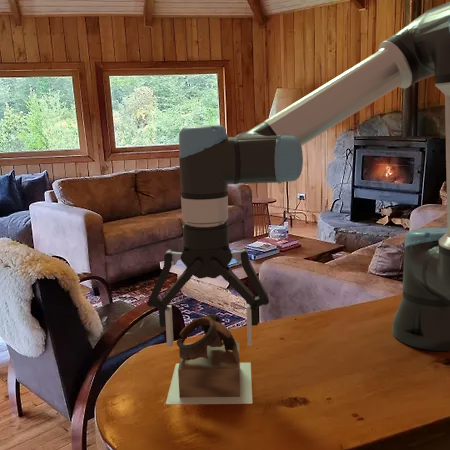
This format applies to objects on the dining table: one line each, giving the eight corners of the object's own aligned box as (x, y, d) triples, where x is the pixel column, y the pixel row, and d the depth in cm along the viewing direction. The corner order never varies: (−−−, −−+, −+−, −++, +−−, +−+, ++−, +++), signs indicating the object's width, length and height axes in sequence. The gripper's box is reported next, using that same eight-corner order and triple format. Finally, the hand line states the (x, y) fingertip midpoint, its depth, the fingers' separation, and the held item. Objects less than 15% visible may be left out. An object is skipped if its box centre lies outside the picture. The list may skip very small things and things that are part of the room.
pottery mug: (243, 374, 84) (218, 338, 81) (193, 394, 87) (166, 359, 83) (243, 327, 95) (221, 293, 92) (199, 345, 97) (175, 314, 94)
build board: (250, 369, 98) (250, 362, 98) (252, 411, 84) (252, 403, 84) (176, 370, 98) (176, 363, 98) (166, 412, 85) (165, 404, 84)
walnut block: (240, 367, 96) (239, 342, 95) (240, 396, 86) (239, 368, 85) (185, 368, 96) (184, 343, 95) (179, 397, 86) (178, 369, 85)
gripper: (280, 215, 88) (281, 333, 93) (133, 218, 89) (141, 335, 94) (284, 225, 81) (284, 352, 85) (124, 228, 82) (133, 354, 86)
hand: (209, 343), depth 90 cm, fingers open, 13 cm apart
